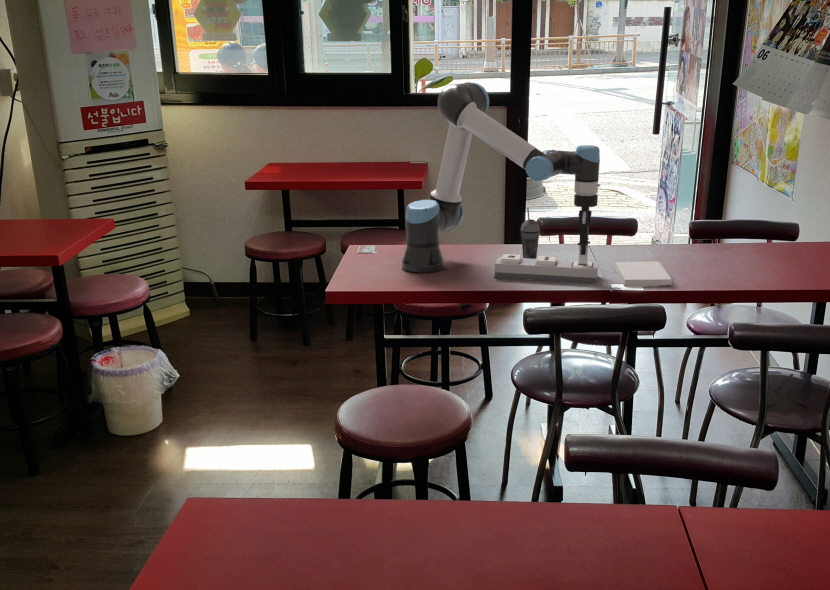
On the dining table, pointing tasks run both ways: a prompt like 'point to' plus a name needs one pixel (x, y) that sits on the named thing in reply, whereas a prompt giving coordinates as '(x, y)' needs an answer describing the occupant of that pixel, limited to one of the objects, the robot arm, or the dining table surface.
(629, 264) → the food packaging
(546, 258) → the bar
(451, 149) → the robot arm
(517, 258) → the block
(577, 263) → the key cross
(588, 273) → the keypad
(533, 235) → the beverage cup
